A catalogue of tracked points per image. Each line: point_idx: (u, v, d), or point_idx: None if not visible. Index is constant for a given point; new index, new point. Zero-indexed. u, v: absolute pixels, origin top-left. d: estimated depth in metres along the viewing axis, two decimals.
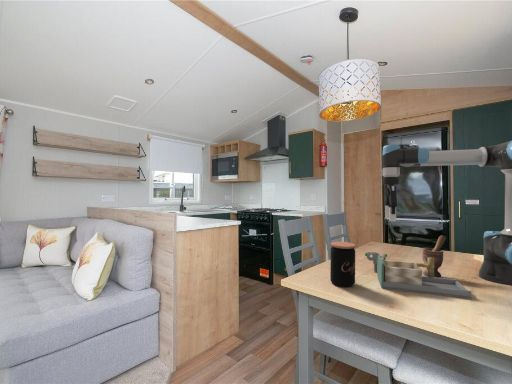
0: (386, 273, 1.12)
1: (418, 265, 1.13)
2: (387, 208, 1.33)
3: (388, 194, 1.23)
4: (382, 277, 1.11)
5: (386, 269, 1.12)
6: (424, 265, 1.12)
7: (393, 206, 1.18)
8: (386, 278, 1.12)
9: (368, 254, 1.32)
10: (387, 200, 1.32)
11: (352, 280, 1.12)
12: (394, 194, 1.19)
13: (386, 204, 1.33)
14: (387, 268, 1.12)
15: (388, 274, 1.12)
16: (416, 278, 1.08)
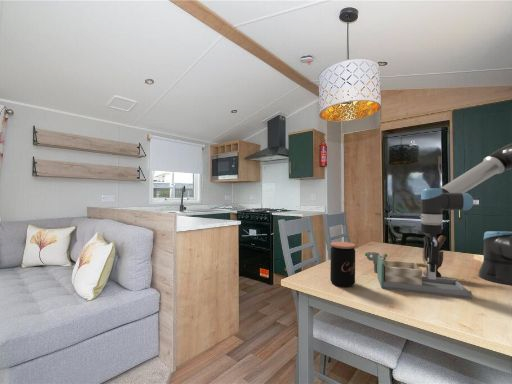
0: (386, 273, 1.12)
1: (418, 265, 1.13)
2: None
3: (428, 247, 1.10)
4: (382, 277, 1.11)
5: (386, 269, 1.12)
6: (424, 265, 1.12)
7: None
8: (386, 278, 1.12)
9: (368, 254, 1.32)
10: (428, 253, 1.13)
11: (352, 280, 1.12)
12: (436, 251, 1.06)
13: (427, 260, 1.14)
14: (387, 268, 1.12)
15: (388, 274, 1.12)
16: (416, 278, 1.08)
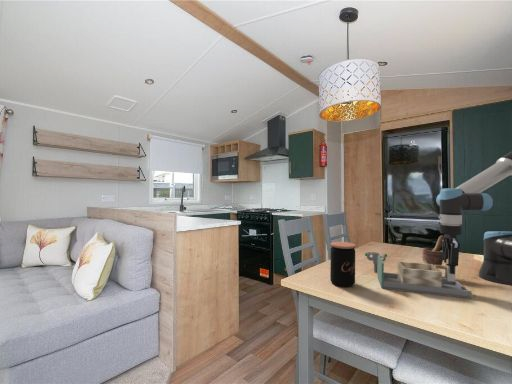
0: (404, 275, 1.10)
1: (437, 267, 1.10)
2: None
3: (448, 248, 1.08)
4: (382, 277, 1.11)
5: (404, 271, 1.10)
6: (443, 267, 1.10)
7: None
8: (404, 280, 1.10)
9: (368, 254, 1.32)
10: (446, 254, 1.11)
11: (352, 280, 1.12)
12: (456, 253, 1.04)
13: None
14: (405, 270, 1.10)
15: (406, 276, 1.09)
16: (435, 280, 1.06)
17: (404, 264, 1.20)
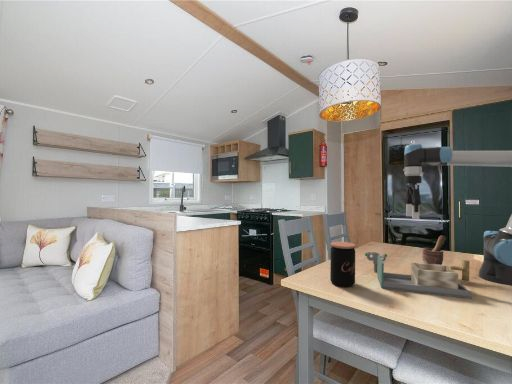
0: (419, 276, 1.08)
1: (452, 268, 1.08)
2: (408, 206, 1.36)
3: (411, 192, 1.27)
4: (382, 277, 1.11)
5: (419, 272, 1.08)
6: (459, 268, 1.08)
7: (417, 204, 1.21)
8: (419, 282, 1.08)
9: (368, 254, 1.32)
10: (408, 198, 1.35)
11: (352, 280, 1.12)
12: (417, 192, 1.22)
13: (407, 202, 1.37)
14: (420, 271, 1.08)
15: (421, 277, 1.08)
16: (451, 282, 1.04)
17: (418, 265, 1.18)
